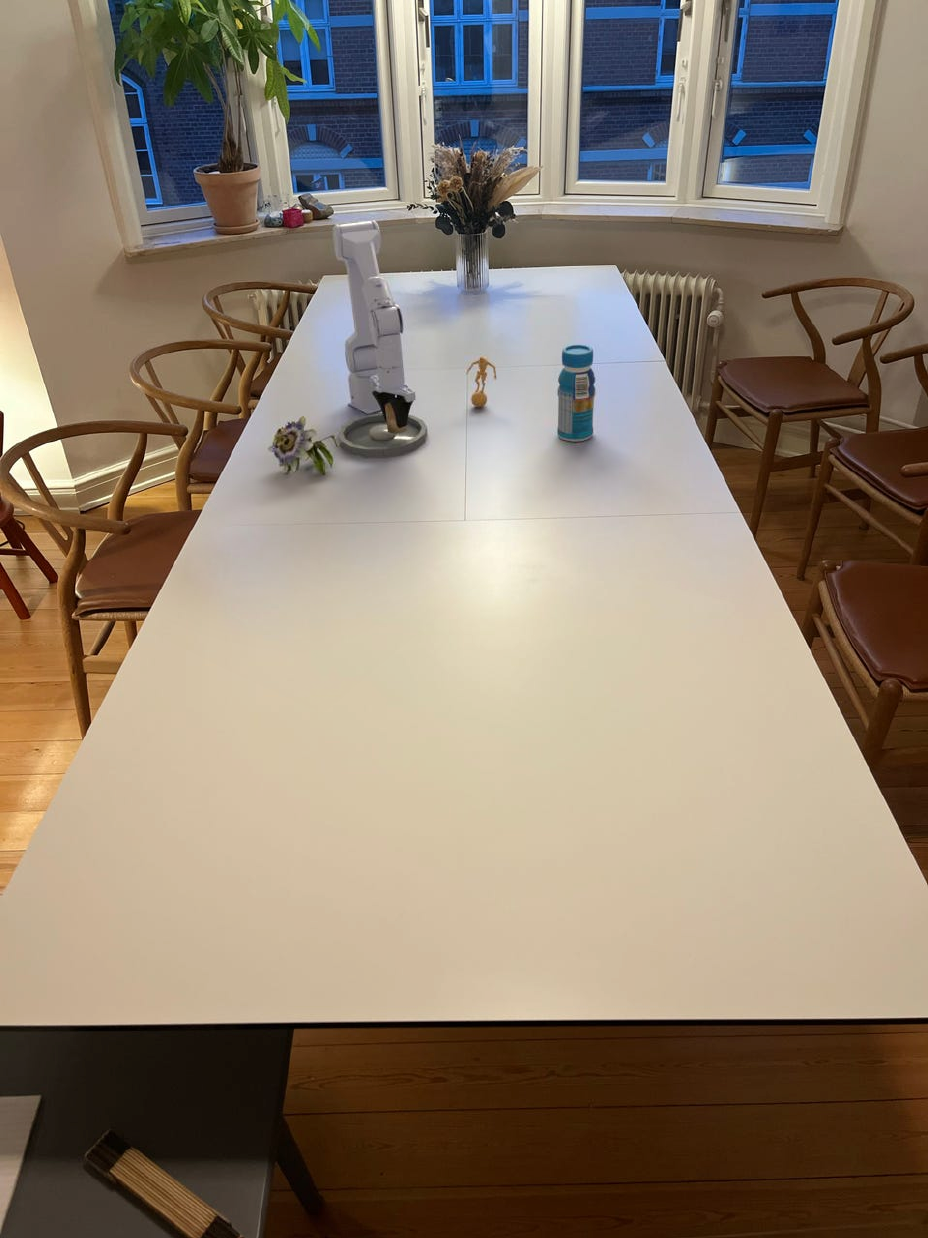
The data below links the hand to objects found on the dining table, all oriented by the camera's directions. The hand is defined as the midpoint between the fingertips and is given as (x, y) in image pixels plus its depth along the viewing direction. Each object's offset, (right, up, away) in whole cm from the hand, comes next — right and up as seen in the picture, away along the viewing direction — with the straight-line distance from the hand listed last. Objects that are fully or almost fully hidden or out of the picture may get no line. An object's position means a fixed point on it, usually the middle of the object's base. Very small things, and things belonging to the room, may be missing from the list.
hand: (395, 423), depth 197 cm
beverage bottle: (+41, -2, +4) cm, 41 cm away
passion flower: (-20, -10, -3) cm, 23 cm away
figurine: (+20, +9, +21) cm, 30 cm away
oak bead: (0, -1, +1) cm, 2 cm away
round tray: (-3, -2, +7) cm, 8 cm away
